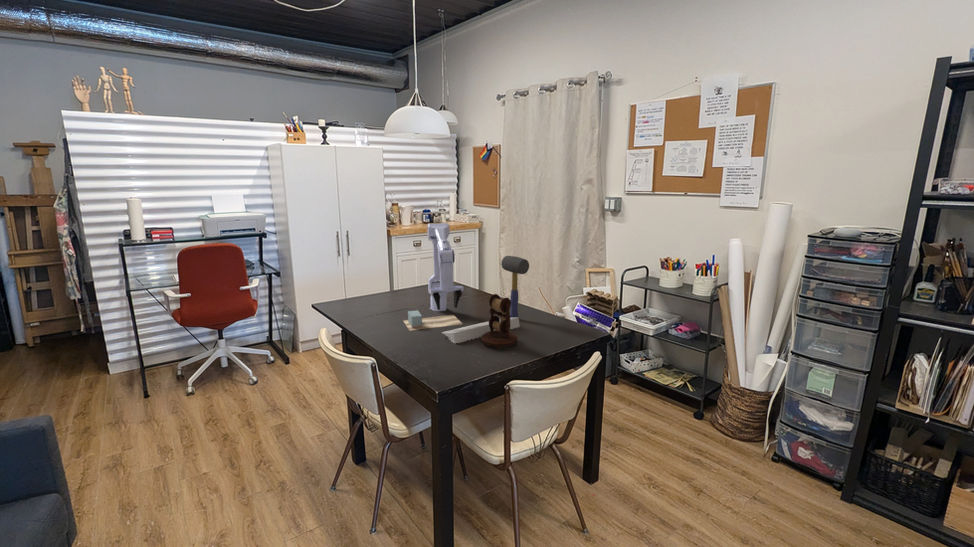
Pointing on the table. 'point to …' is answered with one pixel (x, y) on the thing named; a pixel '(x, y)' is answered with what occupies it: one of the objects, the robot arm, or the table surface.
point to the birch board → (435, 322)
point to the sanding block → (414, 319)
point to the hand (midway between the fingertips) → (447, 308)
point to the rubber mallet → (514, 278)
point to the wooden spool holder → (499, 324)
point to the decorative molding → (474, 331)
